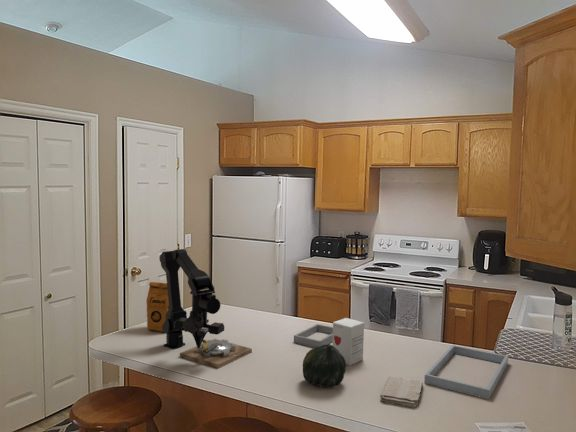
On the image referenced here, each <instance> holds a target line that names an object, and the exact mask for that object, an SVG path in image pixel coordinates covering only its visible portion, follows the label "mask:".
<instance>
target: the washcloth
mask: <svg viewBox="0 0 576 432" xmlns="http://www.w3.org/2000/svg"><path fill="white" fill-rule="evenodd" d="M423 384H424V382H423V380H419V379H414V378H410V379H407V378H403V377H399V376H391V375H390V376H388V378H387V380H386V382H385V384H384V386H383V389H382V391H381V392H380V396H379V397H380V402H384V403H386V402H387V403H386V404H390V403H393V404H392V405H395V404H400V405H399V406H401V405H405V406H404V407H407V406H410V407H409V408H416V407H417V406H418V404H417V401H418V400H419V401H420V398H419V395H420V392H421V393H422V391H421V388H422V389H423ZM420 396H421V395H420ZM416 405H417V406H416Z"/></svg>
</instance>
